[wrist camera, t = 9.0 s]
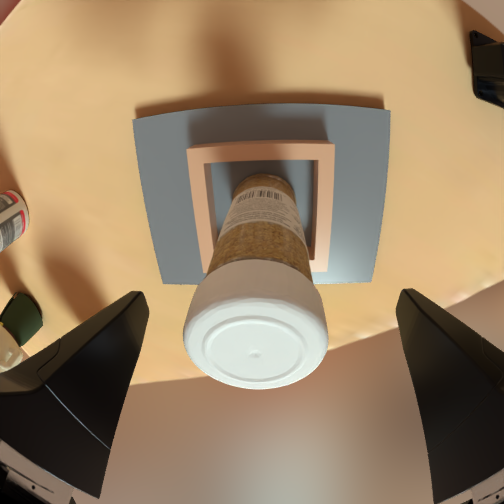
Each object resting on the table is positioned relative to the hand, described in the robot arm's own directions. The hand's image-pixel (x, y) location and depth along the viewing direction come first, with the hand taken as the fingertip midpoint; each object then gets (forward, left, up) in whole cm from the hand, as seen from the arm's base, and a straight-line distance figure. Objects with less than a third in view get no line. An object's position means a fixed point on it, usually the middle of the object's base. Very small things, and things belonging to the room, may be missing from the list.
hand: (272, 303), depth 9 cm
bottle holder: (+1, +1, -13) cm, 13 cm away
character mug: (+34, +14, -13) cm, 39 cm away
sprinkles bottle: (+1, +1, -12) cm, 12 cm away
